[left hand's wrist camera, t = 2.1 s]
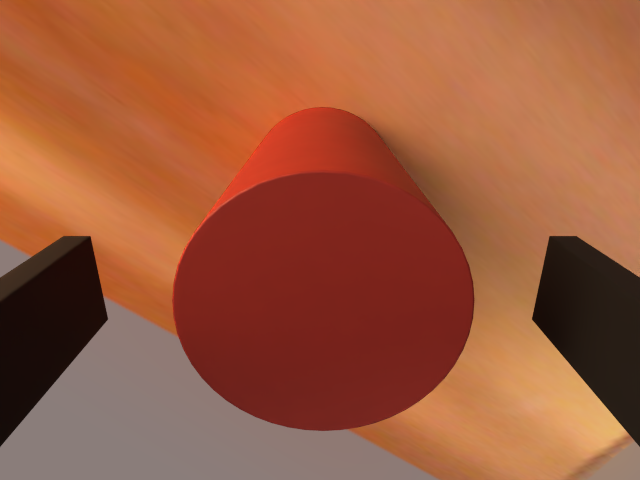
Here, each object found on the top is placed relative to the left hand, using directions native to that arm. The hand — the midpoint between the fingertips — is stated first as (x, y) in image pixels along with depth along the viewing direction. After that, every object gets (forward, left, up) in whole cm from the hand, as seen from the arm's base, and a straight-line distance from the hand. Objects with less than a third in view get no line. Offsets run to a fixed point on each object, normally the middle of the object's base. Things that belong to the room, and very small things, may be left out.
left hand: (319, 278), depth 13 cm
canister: (0, 0, -10) cm, 10 cm away
